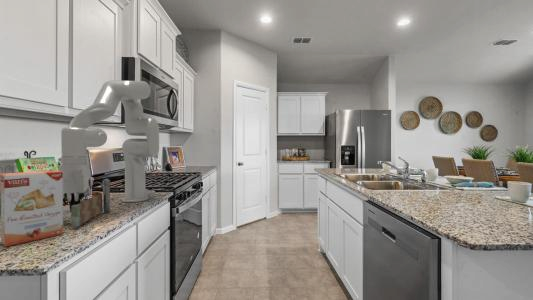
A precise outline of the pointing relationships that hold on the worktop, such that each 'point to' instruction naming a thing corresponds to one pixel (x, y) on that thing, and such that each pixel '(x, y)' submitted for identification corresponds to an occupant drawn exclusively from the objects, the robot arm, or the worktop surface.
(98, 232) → the worktop surface
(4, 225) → the cracker box
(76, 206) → the gate
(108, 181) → the gatepost
